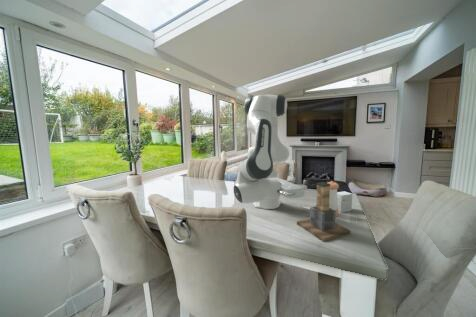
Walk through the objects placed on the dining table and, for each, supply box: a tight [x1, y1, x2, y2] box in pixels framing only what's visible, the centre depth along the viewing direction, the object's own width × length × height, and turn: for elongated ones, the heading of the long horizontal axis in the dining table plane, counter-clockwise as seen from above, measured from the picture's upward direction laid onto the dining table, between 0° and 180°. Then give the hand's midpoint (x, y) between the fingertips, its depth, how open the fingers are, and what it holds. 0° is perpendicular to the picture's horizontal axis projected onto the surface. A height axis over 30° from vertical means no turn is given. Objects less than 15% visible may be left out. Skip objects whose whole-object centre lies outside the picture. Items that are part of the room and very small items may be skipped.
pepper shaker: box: [327, 180, 340, 217], centre depth 112 cm, size 7×7×19 cm
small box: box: [337, 190, 353, 214], centre depth 117 cm, size 8×6×10 cm
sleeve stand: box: [296, 205, 351, 243], centre depth 96 cm, size 18×16×10 cm
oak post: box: [315, 181, 330, 212], centre depth 95 cm, size 4×4×21 cm
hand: (298, 184), depth 89 cm, fingers open, 8 cm apart
